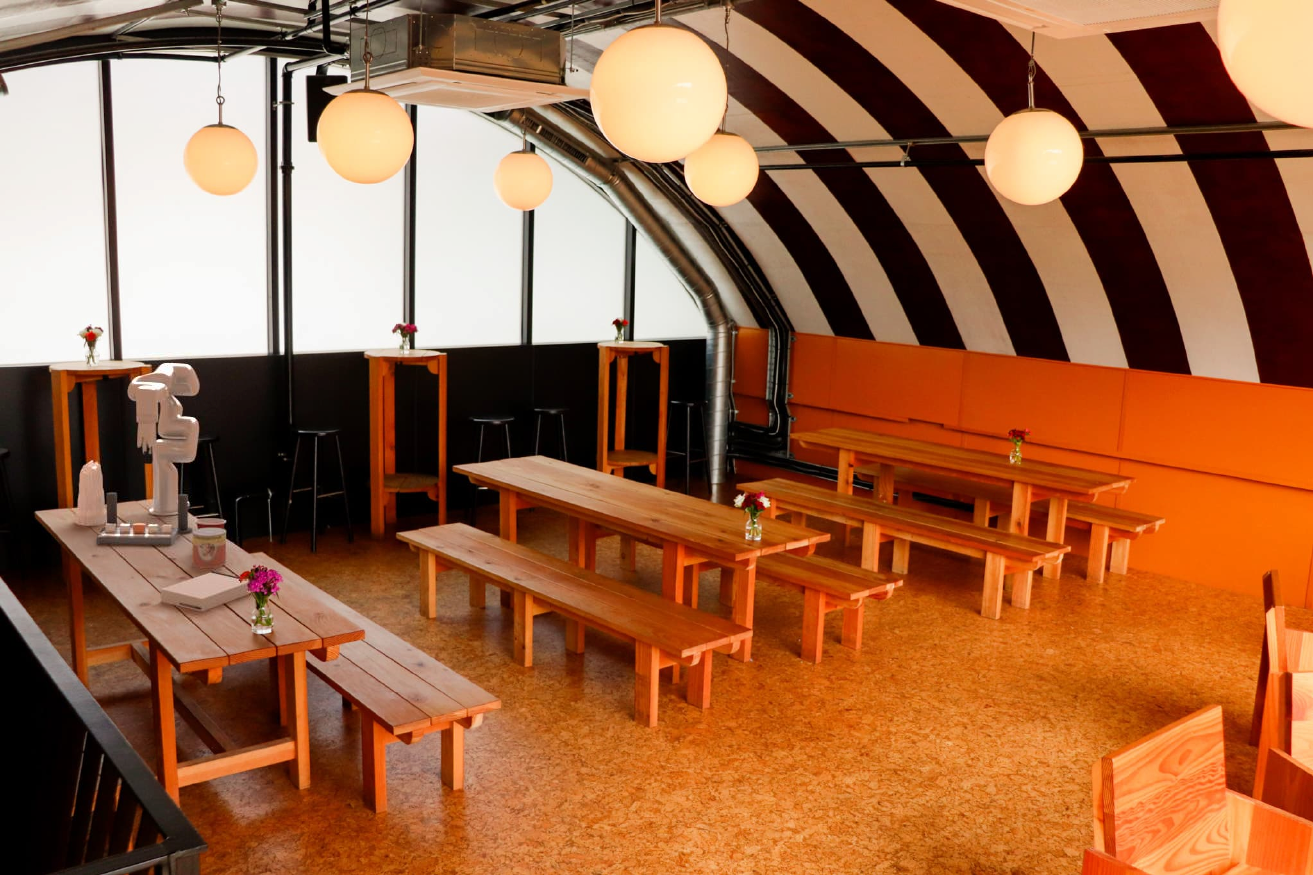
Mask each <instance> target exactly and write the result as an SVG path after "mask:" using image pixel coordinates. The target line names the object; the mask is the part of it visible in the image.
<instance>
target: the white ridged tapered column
mask: <svg viewBox="0 0 1313 875" xmlns="http://www.w3.org/2000/svg"><path fill="white" fill-rule="evenodd" d="M103 480H104V479H103V473H102V468H101V463H98V461H95V462H94V460H93V459H92V460H90V461H89V462H88V463H86V464H84V465H83V466H82V468H81V470H80V473H79V482H78V487H79V488H78V498H77V509H76V512H75V524H76V525H78V526H82V527H94V526H96V527H97V526H101V525H104V524H107V509H106V507H105V490H104V488H103V482H104V481H103Z"/></svg>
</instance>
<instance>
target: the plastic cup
mask: <svg viewBox="0 0 1313 875" xmlns="http://www.w3.org/2000/svg"><path fill="white" fill-rule="evenodd" d="M194 522H195V524H196V526H197V528H196V529H200V528H222V529H224V526H225V524H226V523H227V520H225V519H222V518H214V517H213V518H211V517H210V518H199V519H195V520H194Z"/></svg>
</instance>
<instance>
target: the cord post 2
mask: <svg viewBox="0 0 1313 875" xmlns="http://www.w3.org/2000/svg"><path fill="white" fill-rule="evenodd" d="M188 502H189V495H188V494H184V493H181V494H178V514H177V528H180V535H186V534H190V533H193V528H192V527H189V526H188V525H189V506H188Z"/></svg>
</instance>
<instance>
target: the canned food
mask: <svg viewBox="0 0 1313 875" xmlns="http://www.w3.org/2000/svg"><path fill="white" fill-rule="evenodd" d="M226 552H227V529H225V528H223V529H222V528H200V529H198V528H196V529H194V530H192V566H194V567H198V568H200V569H201V568H202V569H209V568H210V569H211V568H219V567H222V566H225V565H226V564H227V560H226V559H227V558H226V557H227V553H226Z"/></svg>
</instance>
